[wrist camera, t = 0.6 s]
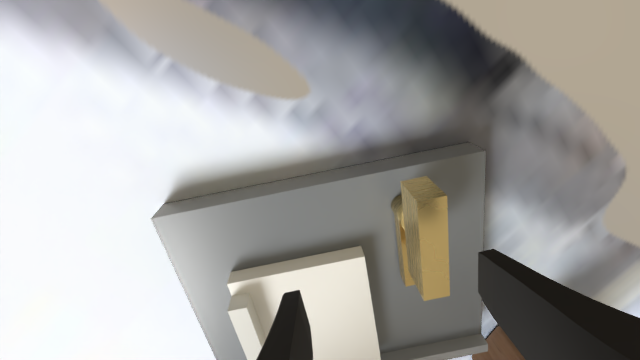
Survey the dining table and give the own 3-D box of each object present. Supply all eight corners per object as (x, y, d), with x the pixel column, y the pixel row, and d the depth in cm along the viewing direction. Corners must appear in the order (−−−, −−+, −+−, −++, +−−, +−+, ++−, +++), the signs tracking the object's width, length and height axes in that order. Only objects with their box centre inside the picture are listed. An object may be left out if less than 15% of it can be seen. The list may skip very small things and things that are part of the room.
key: (417, 269, 22) (450, 329, 17) (398, 273, 22) (426, 334, 17) (408, 159, 19) (447, 195, 14) (386, 163, 19) (416, 201, 14)
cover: (377, 347, 25) (385, 378, 22) (267, 370, 25) (264, 402, 23) (360, 245, 21) (369, 269, 19) (230, 271, 21) (222, 299, 19)
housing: (468, 324, 27) (487, 354, 25) (236, 370, 28) (229, 406, 25) (468, 142, 21) (495, 155, 18) (163, 204, 21) (143, 227, 18)
